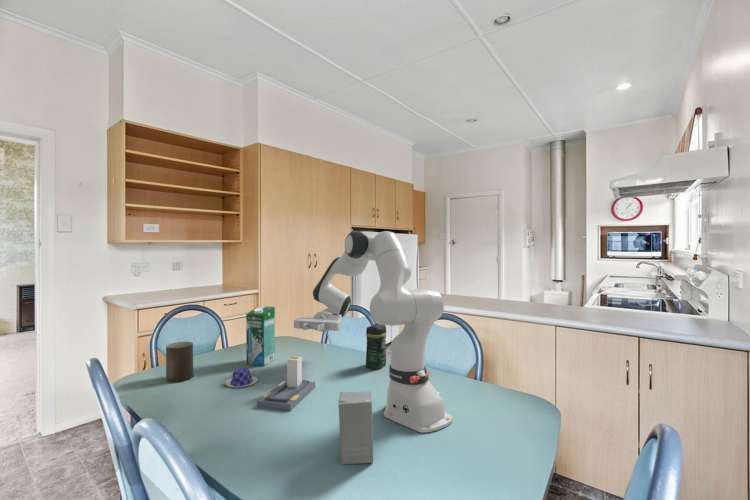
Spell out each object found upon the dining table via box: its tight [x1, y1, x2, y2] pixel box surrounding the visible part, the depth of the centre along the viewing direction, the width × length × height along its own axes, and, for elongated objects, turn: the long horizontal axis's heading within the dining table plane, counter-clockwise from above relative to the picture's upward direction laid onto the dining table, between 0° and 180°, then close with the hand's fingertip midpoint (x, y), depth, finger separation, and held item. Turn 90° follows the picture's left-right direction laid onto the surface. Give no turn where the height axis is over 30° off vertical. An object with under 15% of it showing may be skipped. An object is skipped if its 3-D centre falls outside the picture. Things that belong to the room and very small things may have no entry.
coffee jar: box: [365, 322, 387, 370], centre depth 159 cm, size 10×8×19 cm
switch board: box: [256, 378, 316, 412], centre depth 127 cm, size 20×12×3 cm, turn 166°
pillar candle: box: [165, 341, 194, 383], centre depth 145 cm, size 10×10×15 cm
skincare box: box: [338, 390, 374, 466], centre depth 90 cm, size 8×7×16 cm
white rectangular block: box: [286, 355, 303, 388], centre depth 132 cm, size 4×4×10 cm
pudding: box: [224, 367, 259, 388], centre depth 140 cm, size 12×12×5 cm
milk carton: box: [245, 305, 276, 367], centre depth 165 cm, size 9×9×25 cm
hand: (310, 328), depth 146 cm, fingers open, 4 cm apart
